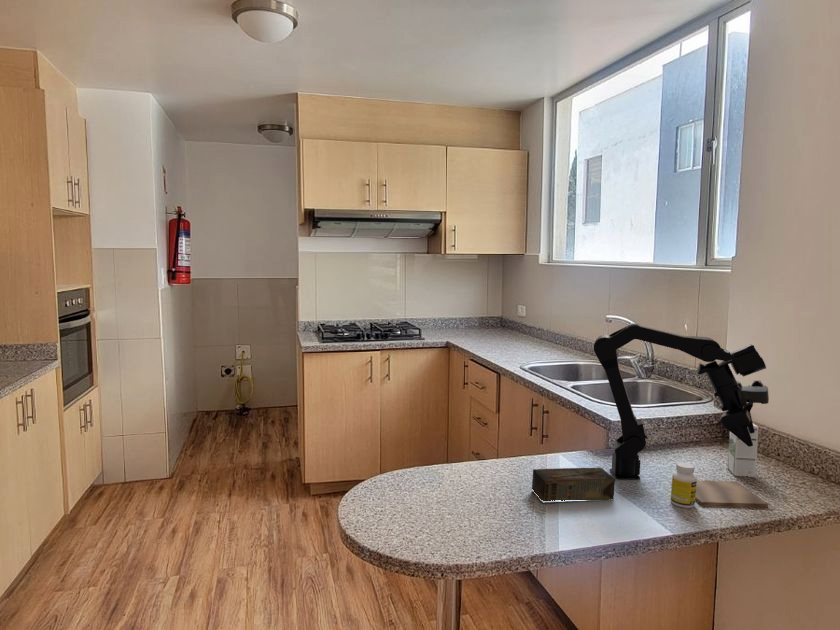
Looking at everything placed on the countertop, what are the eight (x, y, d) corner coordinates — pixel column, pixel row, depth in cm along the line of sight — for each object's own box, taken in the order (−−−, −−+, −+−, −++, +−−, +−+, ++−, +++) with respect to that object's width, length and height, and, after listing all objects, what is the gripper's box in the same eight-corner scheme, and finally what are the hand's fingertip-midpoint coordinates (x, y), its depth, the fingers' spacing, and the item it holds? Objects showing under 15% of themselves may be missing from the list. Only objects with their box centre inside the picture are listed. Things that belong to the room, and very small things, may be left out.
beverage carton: (615, 501, 139) (616, 475, 138) (541, 506, 136) (542, 479, 135) (600, 488, 147) (601, 464, 146) (529, 492, 143) (530, 467, 143)
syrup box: (756, 477, 156) (760, 426, 154) (733, 475, 157) (736, 424, 156) (748, 470, 161) (752, 420, 160) (726, 468, 162) (729, 419, 161)
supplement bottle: (693, 510, 134) (696, 470, 133) (668, 505, 137) (671, 465, 136) (696, 502, 138) (698, 463, 138) (672, 497, 141) (674, 459, 140)
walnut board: (701, 506, 137) (701, 502, 136) (676, 483, 150) (676, 479, 150) (768, 507, 136) (768, 503, 136) (736, 485, 150) (737, 481, 150)
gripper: (756, 384, 133) (786, 445, 132) (759, 363, 149) (786, 418, 148) (707, 398, 140) (736, 456, 139) (715, 377, 155) (741, 429, 154)
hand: (751, 439), depth 145 cm, fingers open, 9 cm apart
